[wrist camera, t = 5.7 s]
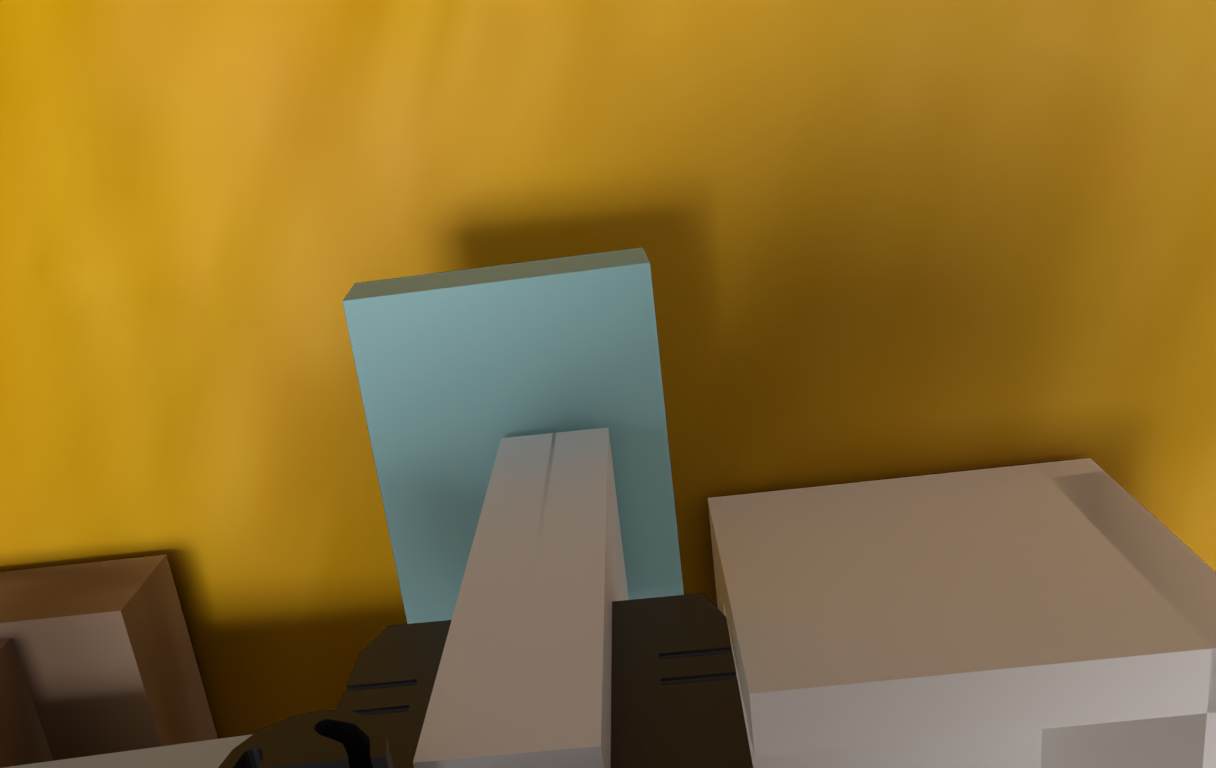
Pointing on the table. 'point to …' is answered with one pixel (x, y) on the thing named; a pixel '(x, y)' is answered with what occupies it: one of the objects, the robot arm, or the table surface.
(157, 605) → the brown recessed block
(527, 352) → the lever
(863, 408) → the table surface
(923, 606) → the bin
